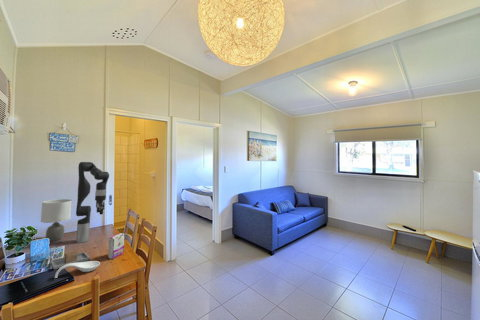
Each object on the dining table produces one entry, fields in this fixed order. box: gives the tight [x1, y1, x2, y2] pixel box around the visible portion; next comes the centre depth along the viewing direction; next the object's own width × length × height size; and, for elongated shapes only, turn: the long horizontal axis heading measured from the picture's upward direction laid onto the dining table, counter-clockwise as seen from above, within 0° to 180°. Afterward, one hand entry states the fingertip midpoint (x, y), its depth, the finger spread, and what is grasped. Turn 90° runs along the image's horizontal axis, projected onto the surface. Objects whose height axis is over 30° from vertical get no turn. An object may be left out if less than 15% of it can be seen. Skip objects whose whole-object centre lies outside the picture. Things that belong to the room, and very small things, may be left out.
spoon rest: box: [54, 260, 101, 279], centre depth 131 cm, size 24×12×7 cm, turn 132°
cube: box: [64, 250, 78, 263], centre depth 144 cm, size 6×6×6 cm
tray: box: [50, 251, 91, 270], centre depth 144 cm, size 14×20×2 cm
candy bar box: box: [107, 232, 126, 260], centre depth 157 cm, size 11×5×16 cm, turn 168°
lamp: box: [40, 198, 72, 242], centre depth 184 cm, size 21×21×37 cm
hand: (99, 213), depth 166 cm, fingers open, 8 cm apart
